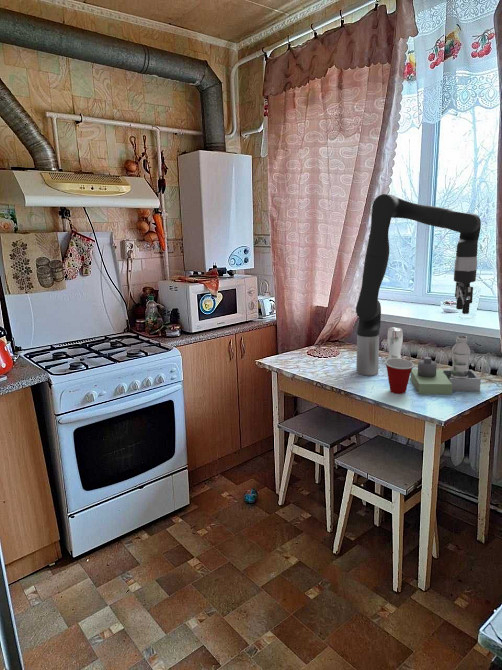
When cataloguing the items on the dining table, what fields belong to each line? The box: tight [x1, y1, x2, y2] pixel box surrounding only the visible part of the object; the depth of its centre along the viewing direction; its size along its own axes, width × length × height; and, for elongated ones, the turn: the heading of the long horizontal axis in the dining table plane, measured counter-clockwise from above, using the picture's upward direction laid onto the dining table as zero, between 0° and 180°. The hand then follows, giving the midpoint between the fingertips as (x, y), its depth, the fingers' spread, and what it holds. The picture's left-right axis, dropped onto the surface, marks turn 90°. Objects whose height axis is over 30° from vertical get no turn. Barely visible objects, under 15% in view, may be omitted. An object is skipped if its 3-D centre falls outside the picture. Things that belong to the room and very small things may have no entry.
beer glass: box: [386, 327, 404, 359], centre depth 217 cm, size 7×7×15 cm
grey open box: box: [442, 369, 482, 392], centre depth 181 cm, size 11×11×5 cm
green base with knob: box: [409, 356, 453, 395], centre depth 182 cm, size 12×18×11 cm, turn 171°
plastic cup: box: [384, 358, 415, 395], centre depth 178 cm, size 11×11×12 cm
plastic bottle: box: [450, 335, 471, 378], centre depth 179 cm, size 6×7×20 cm
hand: (462, 311), depth 175 cm, fingers open, 8 cm apart
